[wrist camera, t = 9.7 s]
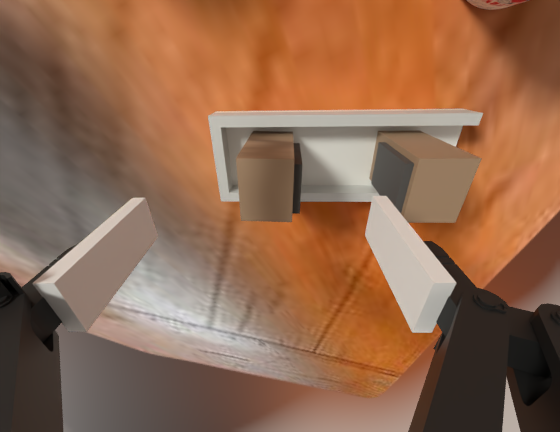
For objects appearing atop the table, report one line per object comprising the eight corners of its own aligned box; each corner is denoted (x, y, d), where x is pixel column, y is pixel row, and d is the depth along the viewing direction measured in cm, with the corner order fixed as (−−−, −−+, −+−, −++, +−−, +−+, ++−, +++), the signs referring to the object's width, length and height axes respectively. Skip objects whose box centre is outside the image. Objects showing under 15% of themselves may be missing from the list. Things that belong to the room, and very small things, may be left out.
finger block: (255, 178, 27) (241, 220, 19) (252, 131, 24) (235, 158, 17) (296, 179, 27) (299, 222, 19) (299, 131, 24) (303, 159, 17)
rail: (227, 189, 29) (200, 239, 20) (216, 111, 25) (177, 132, 16) (434, 190, 28) (499, 242, 19) (461, 108, 24) (560, 129, 15)
